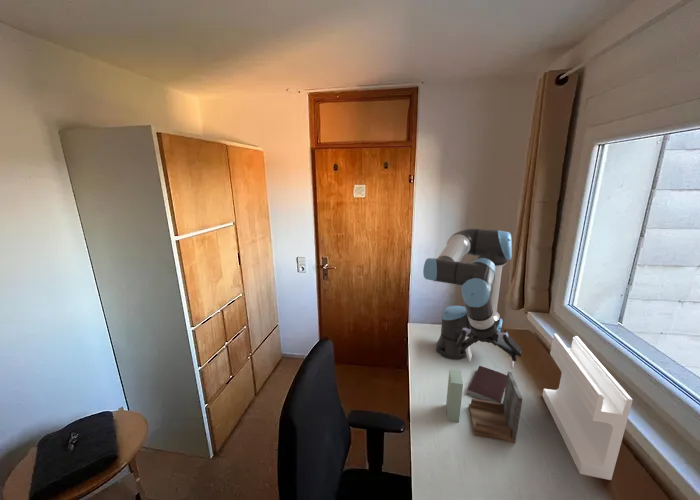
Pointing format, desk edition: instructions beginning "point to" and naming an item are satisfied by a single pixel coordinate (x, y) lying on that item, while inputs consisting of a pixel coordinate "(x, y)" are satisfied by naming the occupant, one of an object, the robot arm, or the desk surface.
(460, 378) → the grey-green tall block
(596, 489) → the desk surface
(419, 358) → the desk surface
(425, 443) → the desk surface
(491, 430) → the slot board
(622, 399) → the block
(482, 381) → the book
